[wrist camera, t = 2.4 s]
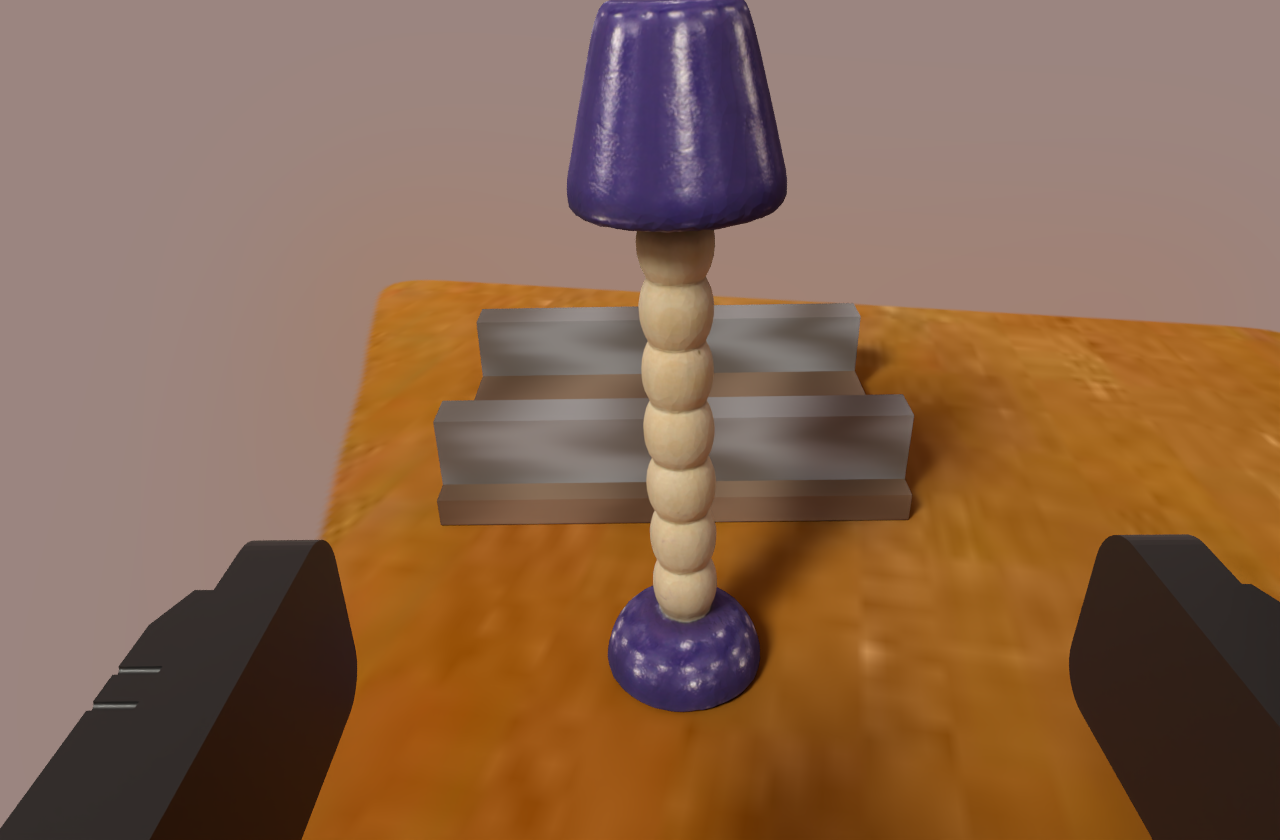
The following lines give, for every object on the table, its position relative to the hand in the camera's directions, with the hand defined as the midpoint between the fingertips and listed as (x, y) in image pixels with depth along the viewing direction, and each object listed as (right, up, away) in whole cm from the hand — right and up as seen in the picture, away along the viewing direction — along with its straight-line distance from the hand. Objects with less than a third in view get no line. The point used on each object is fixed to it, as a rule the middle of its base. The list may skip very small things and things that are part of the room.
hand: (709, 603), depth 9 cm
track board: (0, +1, +26) cm, 26 cm away
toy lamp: (0, -5, +16) cm, 16 cm away
